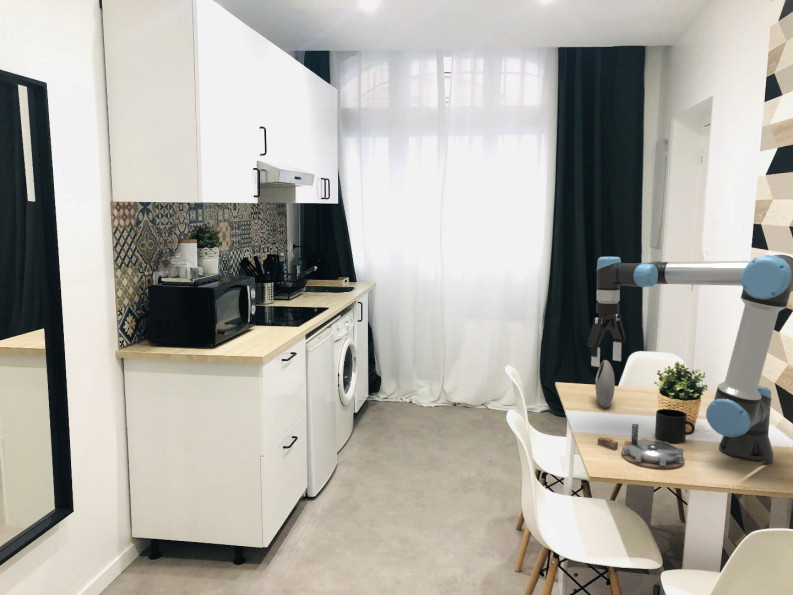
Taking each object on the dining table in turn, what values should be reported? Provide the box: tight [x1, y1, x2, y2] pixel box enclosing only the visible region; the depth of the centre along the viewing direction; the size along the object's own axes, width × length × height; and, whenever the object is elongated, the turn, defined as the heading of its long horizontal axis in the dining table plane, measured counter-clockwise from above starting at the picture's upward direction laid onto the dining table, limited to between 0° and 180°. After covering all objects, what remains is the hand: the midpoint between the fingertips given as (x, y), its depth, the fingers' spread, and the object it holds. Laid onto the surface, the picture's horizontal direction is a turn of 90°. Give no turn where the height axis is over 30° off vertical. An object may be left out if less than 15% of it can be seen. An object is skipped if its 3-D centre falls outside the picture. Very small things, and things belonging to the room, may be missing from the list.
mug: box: [654, 408, 696, 444], centre depth 210 cm, size 9×12×9 cm
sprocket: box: [621, 423, 684, 466], centre depth 193 cm, size 18×18×8 cm
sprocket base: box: [620, 451, 685, 471], centre depth 193 cm, size 18×18×1 cm
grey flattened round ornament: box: [595, 359, 616, 409], centre depth 246 cm, size 18×7×19 cm, turn 165°
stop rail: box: [597, 437, 619, 451], centre depth 202 cm, size 6×2×3 cm, turn 41°
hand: (606, 363), depth 216 cm, fingers open, 13 cm apart
